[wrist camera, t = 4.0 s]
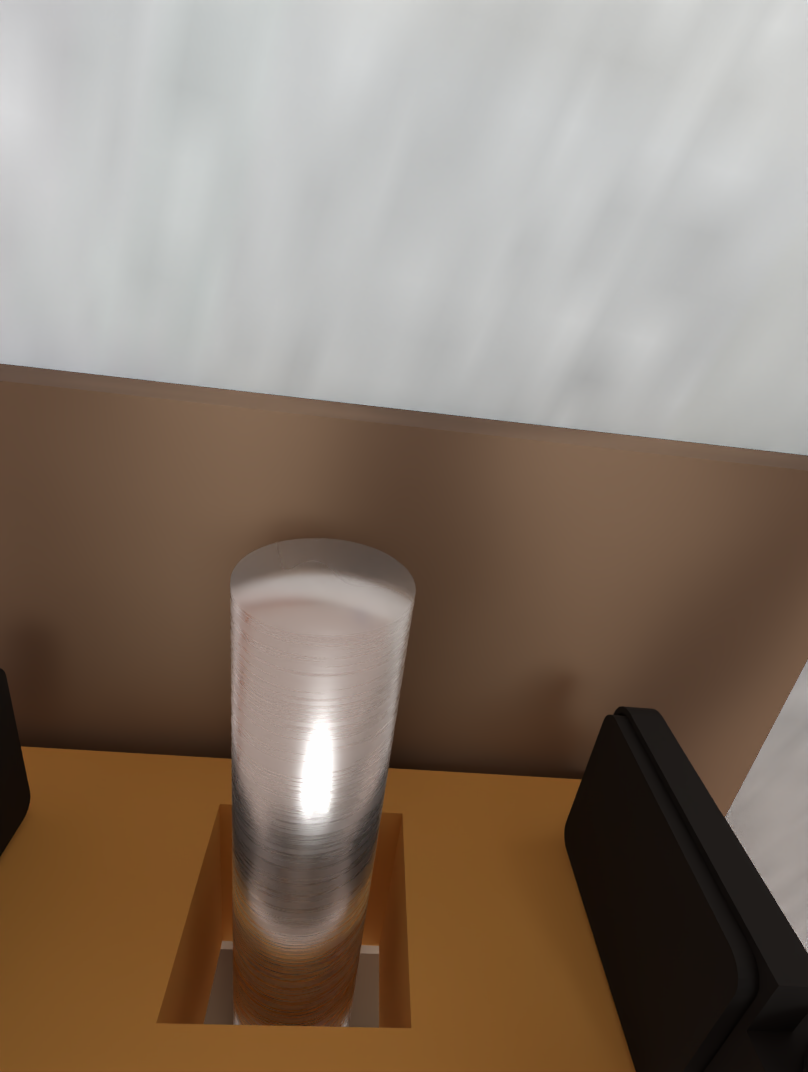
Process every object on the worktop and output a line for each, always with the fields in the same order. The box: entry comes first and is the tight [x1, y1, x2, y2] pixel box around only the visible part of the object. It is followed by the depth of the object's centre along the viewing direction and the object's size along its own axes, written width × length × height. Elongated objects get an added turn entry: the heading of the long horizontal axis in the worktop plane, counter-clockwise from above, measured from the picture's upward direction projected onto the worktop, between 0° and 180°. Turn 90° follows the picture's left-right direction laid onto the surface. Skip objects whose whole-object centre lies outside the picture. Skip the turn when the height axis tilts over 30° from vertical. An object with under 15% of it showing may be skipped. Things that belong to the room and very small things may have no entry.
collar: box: [0, 746, 636, 1072], centre depth 10 cm, size 13×4×5 cm, turn 83°
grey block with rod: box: [230, 538, 416, 1027], centre depth 11 cm, size 7×19×5 cm, turn 173°
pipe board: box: [0, 364, 808, 1028], centre depth 13 cm, size 18×20×1 cm
